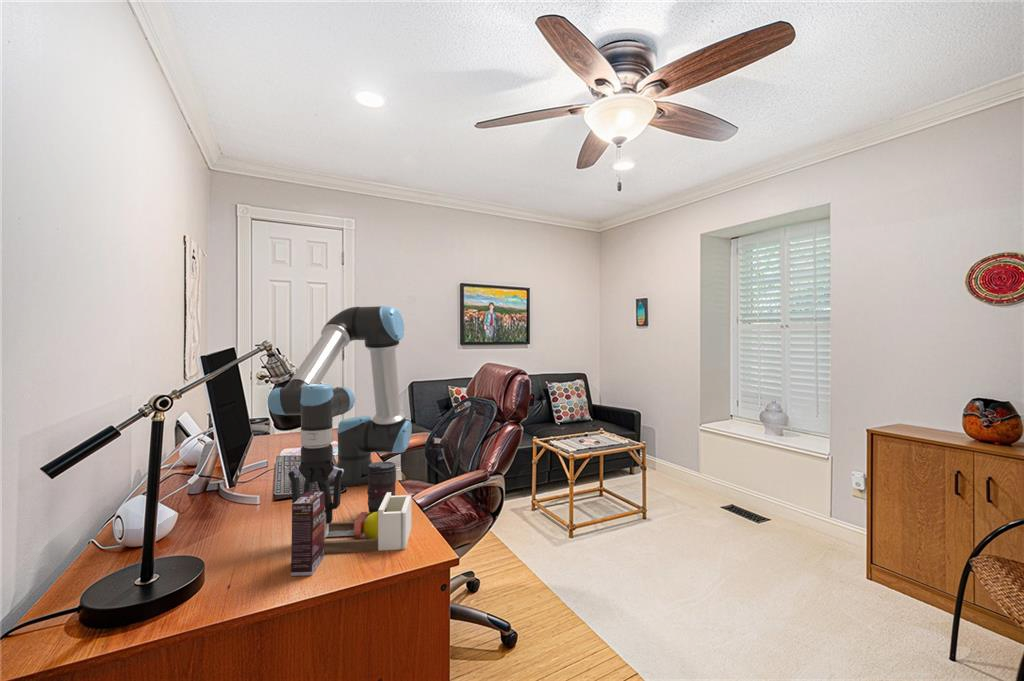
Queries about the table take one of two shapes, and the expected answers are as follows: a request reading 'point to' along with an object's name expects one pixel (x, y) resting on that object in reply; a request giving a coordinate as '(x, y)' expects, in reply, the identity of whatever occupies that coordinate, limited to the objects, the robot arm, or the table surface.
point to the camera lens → (380, 483)
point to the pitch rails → (348, 541)
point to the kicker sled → (356, 532)
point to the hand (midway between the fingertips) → (316, 536)
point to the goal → (394, 522)
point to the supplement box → (307, 533)
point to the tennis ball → (371, 526)
